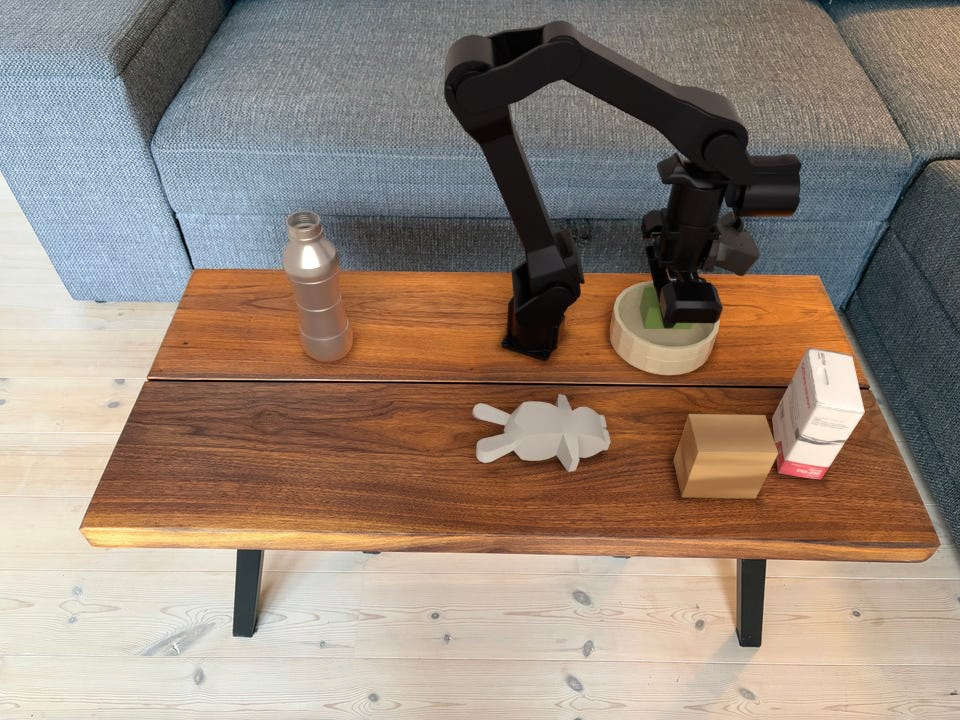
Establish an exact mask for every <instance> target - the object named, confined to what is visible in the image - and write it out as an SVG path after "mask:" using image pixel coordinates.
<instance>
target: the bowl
mask: <svg viewBox="0 0 960 720" xmlns="http://www.w3.org/2000/svg"><path fill="white" fill-rule="evenodd" d="M644 287H654V285H653V280H647V281H642V282H637V283H634V284H633V285H631V286H629V287H626V288H625V289H623V290H622V291H621V293H620V294H619V295H617V297H616V298H615V301H614V305H613V309H612V313H611V321H610V325H609V340H610V344H611V346H612V348H613V350H614V351H615V353H616V354H617V355H618V356H619V358H621V359H622V360H623V361H624V362H626V363H627V364H629V365H630V366H632V367H634V368H636V369H638V370H641V371H643V372H647V373H650V374H654V375H660V376H678V375H684V374H688V373H691V372H693V371H695V370H697V369H699V368H700V367H702V366H703V365H704V363H706V362H707V360H708V359H709V357H710V355H711V354H712V350H713V348H714V345H715V341H716V338H717V336H718V333H719V329H720V322H721V319H720V318H719V321H717V322H716V323H693V325H692V329H644V326H643V321H642V317H641V312H640V303H641V299H642V295H643V290H644Z"/></svg>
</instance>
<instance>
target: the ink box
mask: <svg viewBox="0 0 960 720" xmlns="http://www.w3.org/2000/svg"><path fill="white" fill-rule="evenodd" d="M865 412H866V411H865V407H864V402H863V398H862V393H861V390H860V385H859V381H858V377H857V371H856V367H855V363H854V358H853V355H852V354H849V353H844V352H840V351H834V350H830V349H823V348H816V347H808V348H807V349H806V351H805V352H804V355H803V356H802V358H801V360H800V362H799V364H798V366H797V368H796V370H795V372H794V374H793V376H792V378H791V380H790V382H789V384H788V386H787V388H786V390H785V392H784V394H783V396H782V398H781V400H780V402H779V403H778V405H777V407H776V410H775V412H774V413H773V415H772V417H771V421H772V430H773V431H772V432H773V439H774V442H775V445H776V448H777V451H778V455H777V457H776V459H775V461H776V468H777V474H779V475H786V476H791V477H799V478H802V479H803V478H804V479H811V480H819V481H820V480H822V479H823V477H824V476H825V474H826V473H827V471H828V470H829V468H830V466H831V465H832V464H833V462H834V460H835V459H836V457H837V456H838V454H839V453H840V451H841V449H842V448H843V446H844V444H845V443H846V442H847V440H848V439H849V437H850V436H851V434H852V433H853V431H854V430H855V428H856V426H857V425H858V423H859V422H860V421H861V419H862V418H863V416H864V414H865Z"/></svg>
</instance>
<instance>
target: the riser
mask: <svg viewBox="0 0 960 720" xmlns="http://www.w3.org/2000/svg"><path fill="white" fill-rule="evenodd" d="M777 455H778V451H777V448H776V445H775V442H774V435H773V433H772V430H771V428H770V425H769V422H768V420H767V417H766V414H725V413H724V414H718V413H717V414H716V413H715V414H714V413H712V414H711V413H688V415H687V417H686V421H685V424H684V427H683V430H682V434H681V435H680V439H679V442H678V445H677V448H676V451H675V453H674V457H673V465H674V470H675V473H676V474H675V475H676V478H677V483H678V488H679V492H680V497H681V498H694V499H695V498H696V499H697V498H699V499H700V498H701V499H702V498H703V499H704V498H707V499H757V497H758V495H759V493H760V491H761V489H762V487H763V485H764V483H765V481H766V479H767V477H768V475H769V473H770V471H771V469H772V467H773V465H774V463H775V461H776V457H777Z"/></svg>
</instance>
